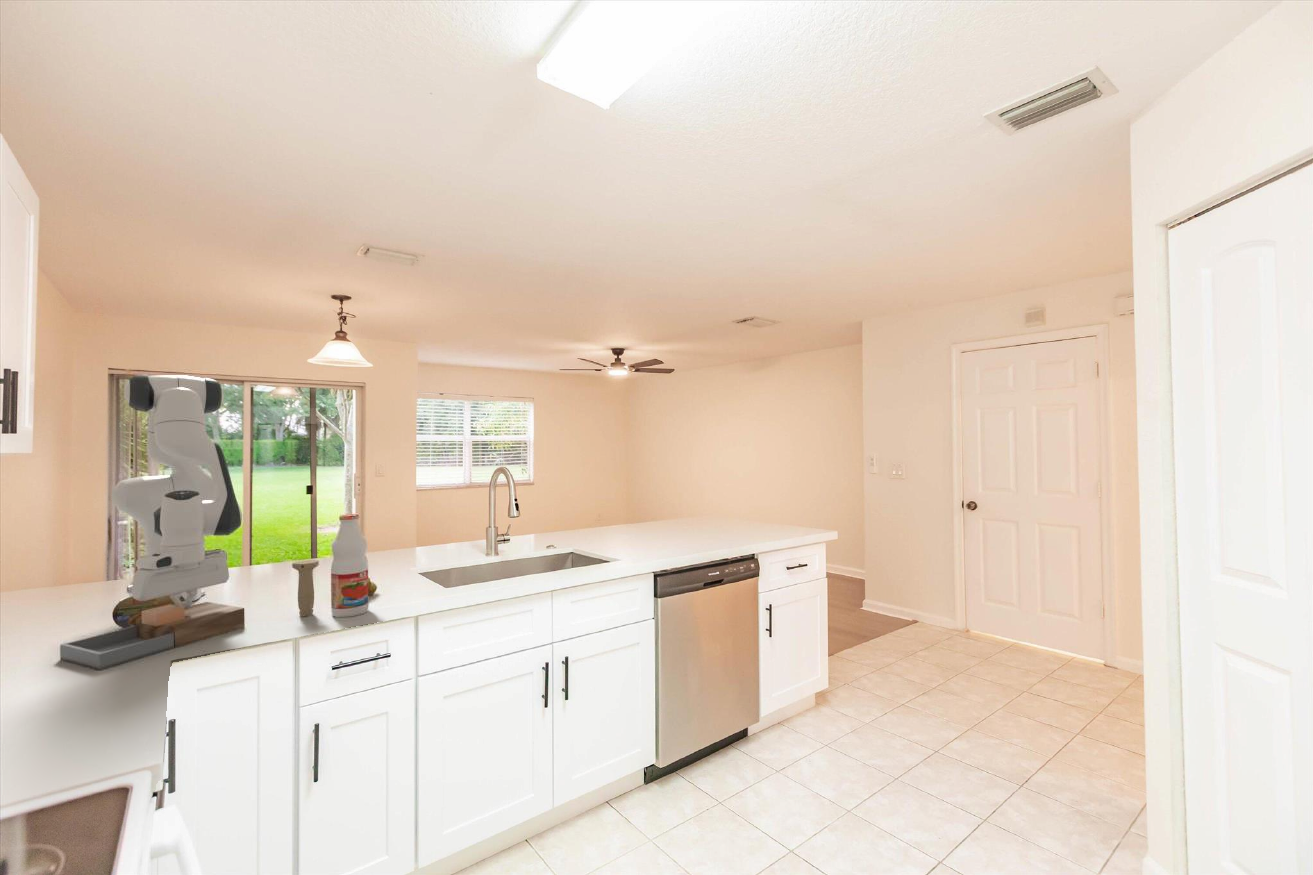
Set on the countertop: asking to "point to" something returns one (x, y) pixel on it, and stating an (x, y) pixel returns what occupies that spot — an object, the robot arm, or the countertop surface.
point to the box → (113, 648)
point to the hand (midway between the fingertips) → (183, 609)
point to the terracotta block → (163, 615)
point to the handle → (305, 585)
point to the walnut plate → (196, 623)
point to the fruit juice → (349, 569)
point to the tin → (137, 609)
